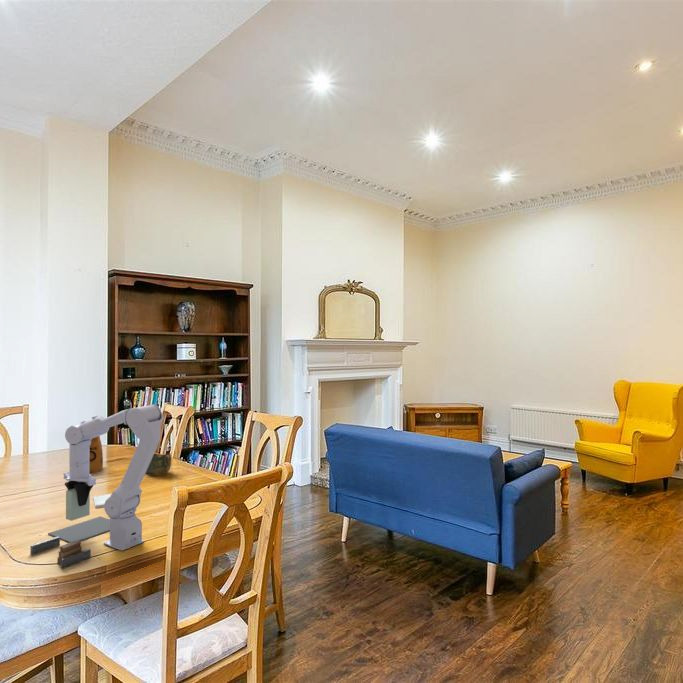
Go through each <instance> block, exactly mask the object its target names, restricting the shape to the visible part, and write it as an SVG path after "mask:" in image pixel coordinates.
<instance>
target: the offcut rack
mask: <svg viewBox="0 0 683 683" xmlns="http://www.w3.org/2000/svg"><path fill="white" fill-rule="evenodd" d="M60 544H61V539H60V537H52V538H49V539H46V540H43V541H40V542H37V543H34V544H31V545H30V555H32V556H33V555H35V554H39V553H41V552H45V551H47V550H49V549H53V548H57V547H59V546H61V545H60ZM91 551H92V550H91V548H87V549H84V550H82V551H81V552H78V553H75V554H73V555H70V556H67V557H65V558H62V559H61V565H60V569H62V570H63V569H66V568H69V567H71V566H74V565H76V564H78V563H81V562H85V561H87V560H89V559H91Z"/></svg>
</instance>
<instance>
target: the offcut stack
mask: <svg viewBox="0 0 683 683" xmlns="http://www.w3.org/2000/svg"><path fill="white" fill-rule="evenodd" d="M81 542H82V541H80V542H79V541H74V542H71V543H68V542H67V543H65V544H63V545H59V546H60V547H59V551H58V557H57V562H56V563H57V565H60V566H61V559H62V558H65V557H67V556H70V555H73V554H75V553H78V552H81V551H83V550H82V549H83V548H82V544H81Z"/></svg>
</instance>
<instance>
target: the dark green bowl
mask: <svg viewBox="0 0 683 683" xmlns="http://www.w3.org/2000/svg"><path fill="white" fill-rule="evenodd" d="M171 466H172V455H171V453H170V452H169V453H166V454H161V453H156V452H155V453H154V455H153V457H152V460H151V462H150V464H149V466H148V468H147V471H146V473H145V474H146V475H148V476H151V477H162V476H166V475H168V473H169V471H170V469H171V468H172V467H171Z"/></svg>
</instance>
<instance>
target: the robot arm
mask: <svg viewBox="0 0 683 683" xmlns="http://www.w3.org/2000/svg"><path fill="white" fill-rule="evenodd" d="M164 418H165V417H164V415H163V412H162V410H161V408H160V407H159V406H158V405H156V404H152V403H151V404H149V405H145V406H139V407H132V408H128V409H124V410H121V411H119V412H117V413H114V414H112V415H110V416H108V417H104V416H101V415H100V416H99V415H94V416H92V417H91V419H90V420H87V421H86V420H83V421H81V422H80V423H79V424H76V425H71V426H69V427H68V428H66V429H65V434H64V438H65V440H66V442H67V443H68V444H69V447H68V448H69V449H68V452H69V456H68V457H69V465H68V467H69V468H68V471H67V472H64V473H63V479H64V480H65V481H66V482H64V486H65V487H66V489H67V490H70V489H74V488H75V489H76V492H77V497H78V504H79V506H83V505H86V503H87V499H88V496H89V493H90V494H91V491H92V489H93V487H94V486H95V485H96V483H97V479H96V478H95V477H93V476H92V475H91V474H90V472H89V457H90V445H91V440H92V438H95V437H97V436H103V435H105V434H107V433H108V432H109V430H110V428H111V427H115V426H118V425H121V424H124V425H125V426H126V425H127V426H128V427H129V428H130V430H131V431H132V433H133V434H134V435H135V437H136V438H137V439H139V442H138V444H137V447H136V448H135V451H134V453H133V456H132V458H131V459H130V462H129V465H128V467H127V469H126V471H125V473H124V475H123V479H122V480H121V483H120V484H119V485H118V486H117V487H116V488H115V489H114V490H113V491H112V493H110V494H111V496H110V497H109V498H108V499H107V500H106V501H105V504H104V507H103V508H104V512H105V514H106V516H107V517H108V519H110V531H109V540H106V541H104V542H103V545H105V546H109V547H111V548H113V549H116V550H118V551H125V550H127V549H129V548H132V547H134V546H137V545H140V544H142V543H144V542H145V539H143V538H142V537H143V532H142V531H143V523H142V520H141V519H140V518H139V517H137V515H136V512H137V507H139V505H140V504H141V495H142V492H143V490H142V488H141V487H140V486H141V484H142V481H143V479H144V477H145V473H146V471H147V468H148V466H149V464H150V462H151V460H152V457H153V455H154V453H156V451H157V448H158V446H159V444H160V441H161V435H162V434H161V433H162V422H163V420H164Z"/></svg>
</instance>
